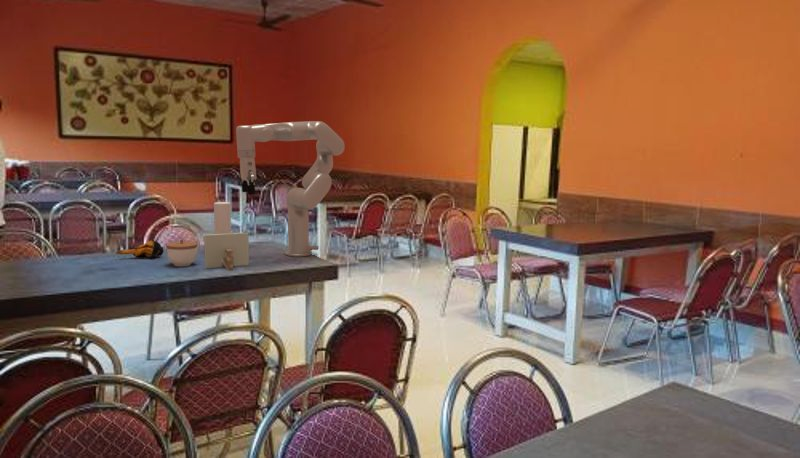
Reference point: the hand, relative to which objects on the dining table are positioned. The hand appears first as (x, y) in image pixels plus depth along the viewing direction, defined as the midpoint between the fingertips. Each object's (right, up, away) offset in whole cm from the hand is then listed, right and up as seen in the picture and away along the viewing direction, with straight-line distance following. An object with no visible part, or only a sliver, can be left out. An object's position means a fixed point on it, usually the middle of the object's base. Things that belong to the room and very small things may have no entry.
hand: (248, 193), depth 270 cm
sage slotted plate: (-7, -32, -8) cm, 33 cm away
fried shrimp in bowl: (-49, -29, +4) cm, 57 cm away
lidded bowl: (-27, -31, -7) cm, 42 cm away
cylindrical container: (-14, -29, +10) cm, 34 cm away
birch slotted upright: (-7, -32, -8) cm, 33 cm away
